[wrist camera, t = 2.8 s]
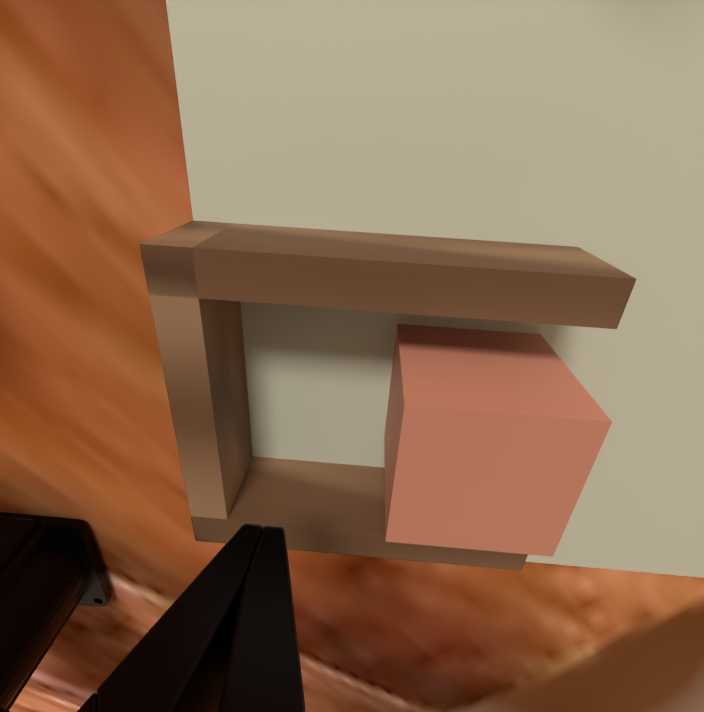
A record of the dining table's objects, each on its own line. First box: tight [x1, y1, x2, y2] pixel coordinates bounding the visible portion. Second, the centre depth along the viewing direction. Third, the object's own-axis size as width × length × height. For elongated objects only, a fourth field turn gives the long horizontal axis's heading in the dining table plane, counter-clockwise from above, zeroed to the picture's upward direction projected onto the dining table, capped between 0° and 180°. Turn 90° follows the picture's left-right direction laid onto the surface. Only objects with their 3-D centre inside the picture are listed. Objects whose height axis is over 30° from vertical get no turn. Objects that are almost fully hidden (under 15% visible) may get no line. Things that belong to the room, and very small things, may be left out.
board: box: [166, 0, 704, 578], centre depth 14 cm, size 19×26×1 cm
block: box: [384, 324, 612, 557], centre depth 12 cm, size 4×4×4 cm
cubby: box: [139, 221, 636, 571], centre depth 13 cm, size 10×11×3 cm
